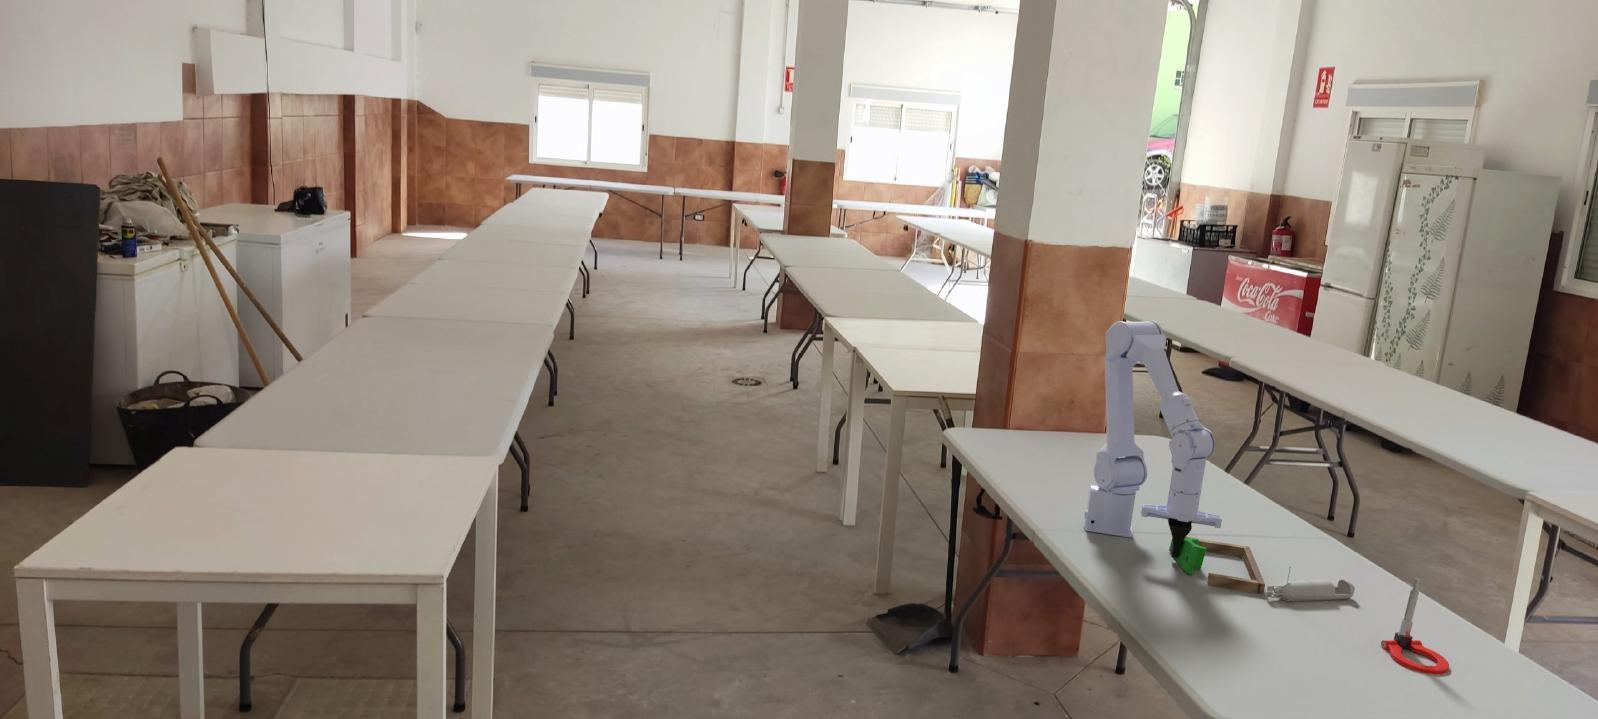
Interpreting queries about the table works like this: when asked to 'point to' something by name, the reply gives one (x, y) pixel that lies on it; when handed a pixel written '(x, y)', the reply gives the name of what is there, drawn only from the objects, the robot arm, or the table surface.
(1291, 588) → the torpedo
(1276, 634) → the table surface
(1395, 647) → the tow hook
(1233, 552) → the walnut bay
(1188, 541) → the pipe clamp
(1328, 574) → the table surface
